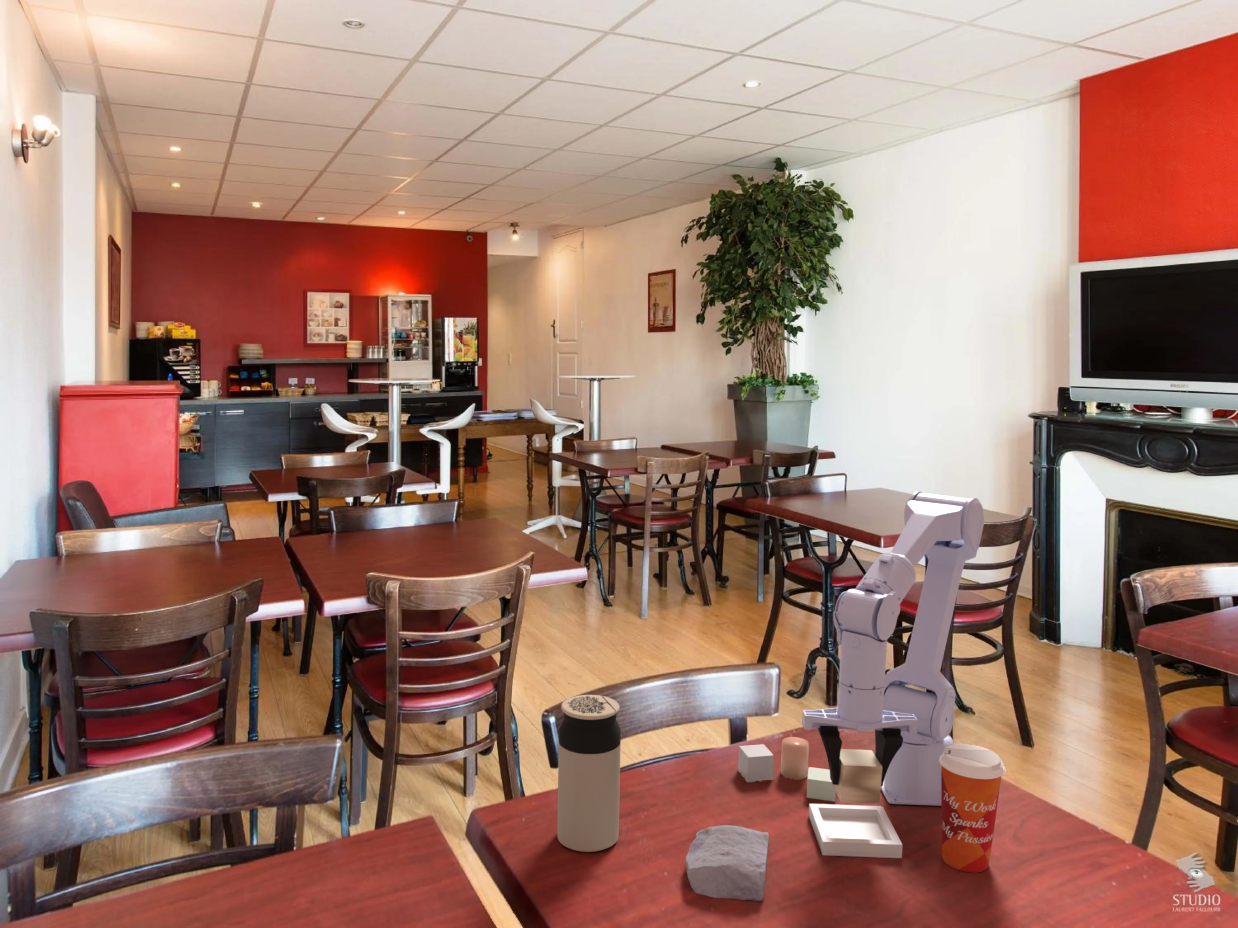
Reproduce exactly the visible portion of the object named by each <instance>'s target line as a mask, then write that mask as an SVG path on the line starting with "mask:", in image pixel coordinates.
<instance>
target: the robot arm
mask: <svg viewBox="0 0 1238 928" xmlns="http://www.w3.org/2000/svg"><path fill="white" fill-rule="evenodd" d="M903 517H904V527H903V529H902V531H901V533H900V535H899V537H898V538H897V541H896V542H895V544H894V546H893V547H892V549H891V551H890V552H885V553H881V554H880V555H879V556H877V557H876V559H875V561H874V562H873V563H872V565H871V566H870V567H869V569H868V570H867V571H866V573H865V574H864V575H863V577H862V579H860V581H859V582H858V584H857V585H856V587H855V588H850V589H848V590H846V591H843V592H841V593H840V595H839V596H838V598H837V600H836V603H835V607H834V611H833V614H832V616H833V617H832V618H833V624H834V627H835V630H836V642H837V644H838V645H839V646H840V654H839V657H840V658H839V674H838V675H839V676H838V677H839V679H838V690H837V691H838V692H837V693H838V695H837V707H830V708H821V709H820V708H819V709H803V710H802V717H801V718H802V719H801V724H802V726H803V729H804V730H807V731H812V730H814V729H817V730H818V733H819V736H820V738H821V741H822V744H823V747H824V750H825V751H824V752H825V754H826V758H827V761H828V769H829V770H830V779H831V781H832V783H833V784H834V785H838V784H839V759H840V751H841V749H842V745H843V744H842V743H843V741H842V739H841V736H840V733H841V732H840V731H839V730H857V731H858V732H863V733H864V732H865V733H874V739H875V741H874V742H875V751H874V755H875V756H876V758H877V759H878V761H879V762H880V764H881V765H882V779H881V791H882V792H881V793H882V794H883V795H884V797H885V799H886V801H887V803H889V804H892V805H909V806H910V805H911V806H913V805H915V806H917V805H918V806H940V807H941V767H942V765H941V764H940V762H939V758H940V756H941V755H942V754H943V752H944V749H945V748H946V747H947V746H949V745H954V744H955V742H954V740H953V738H952V737H951V735H950V733H951V732H952V728H953V725H954V721H955V703H956V702H955V701H956V694H957V693H956V691H955V688H954V687H953V685H952V684H951V683H950V681H949V680H948V679H947V678H946V677H945V676H944V674H943V673H942V672H941V668H942V665H943V660H944V656H945V655H944V654H945V650H946V645H947V642H948V637H949V632H950V629H951V628H950V627H951V624H952V618H953V613H954V611H955V607H956V601H957V597H958V591H959V588H960V583H961V578H962V574H963V570H964V566H965V563H966V562H967V561H969V560H972V559H975V558H976V556H977V554H978V553H977V552H978V550H979V548H980V545H981V544H980V543H981V539H982V534H983V530H984V525H985V515H984V508H983V505H982V503H981V502H980V500H979V499H978V498H976V497H970V498H969V497H962V496H960V497H959V496H953V495H952V496H951V495H945V494H937V493H935V494H934V493H926V492H922V491H919V490H917V491H914V492H913V493H912V494H911V495H910V496H909V497H908V499H907V501H906V503H905V507H904V514H903ZM925 555H926V557H927V561H928V563H927V567H926V571H925V576H924V580H923V584H922V587H921V592H920V597H919V601H918V606H917V610H916V614H915V620H914V623H913V628H912V631H911V637H910V640H909V646H908V650H907V654H906V658H905V661H904V663H903V664H901V665H899V666H896V667H895V668H892V669H890V670H888V671H887V672H886V667H887V665H886V664H887V663H886V662H887V647H888V646H887V644H888V639H890V637H891V636H892V635H893V634H894V631H895V629H896V626H897V621H898V617H899V615H900V612H901V603H902V602H903V599H905V597H906V596H907V594H908V592H909V591H911V590H910V589H911V588H912V586H913V585H914V584H915V582H916V578H917V573H916V569H915V567H916V566H917V565H918V563H920V562H921V560H922V559H923V558H924V556H925ZM907 685H908V686H913V687H916V688H917V687H918V688H921V689H925V690H928V691H932V692H934V693H935V694H934V693H932V692H927V691H924V690H919V689H915V688H912V687H908V686H907Z"/></svg>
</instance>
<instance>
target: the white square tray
mask: <svg viewBox="0 0 1238 928" xmlns="http://www.w3.org/2000/svg"><path fill="white" fill-rule="evenodd" d="M808 806H809V807H808V817H809V821H810V824H811V826H812V829H813V833H814V834H815V838H816V841H817V844H818V847H819V850H820V852H821V855H822V856H832V857H833V856H836V857H837V856H840V857H858V858H860V857H861V858H863V857H865V858H886V859H887V858H890V859H903V858H902V857H903V843H902V841H901V839H900V837H899V835H898V834H897V831H896V830H895V828H894V826H893V824H892V822H891V820H890V818H889V815H887V812H886V810H885V808H884V807H883V805H882V806H881V805H858V804H857V805H855V804H830V803H828V804H827V803H809V804H808Z"/></svg>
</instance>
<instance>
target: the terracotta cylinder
mask: <svg viewBox="0 0 1238 928" xmlns="http://www.w3.org/2000/svg"><path fill="white" fill-rule="evenodd" d="M809 746H810V743H809V741H808V740H807V739H804V738H802V737H797V736H788V737H784V738H783V739H782V740H781V756H780V757H781V759H780V775H781V774H782V775H783V776H782V775H781V776H782V777H784V778H786V779H788V778H789V780H792V779H793V780H792V781H801V780H804V778H805V779H807V778H808V768H809V752H810V751H809V749H810V748H809Z"/></svg>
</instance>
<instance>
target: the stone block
mask: <svg viewBox="0 0 1238 928" xmlns="http://www.w3.org/2000/svg"><path fill="white" fill-rule="evenodd" d="M769 835H770V833H769V832H767V831H765V832H762V831H759V830H755V829H752V828H747V827H744V826H740V825H739V826H738V825H728V824H722V825H716V826H708V827H707V828H703V829H700V830H699V831H697V832H696V834H695V839H693V841H692V842H691V844H690V846H689V848H688V851H687V855H686V857H685V864H686V865H685V867H686V868H685V869H686V876H687V879H688V882H689V884H690V887H691V889H692V891H693V892H694V893H695V894H698V895H702V896H703V895H704V896H707V897H710V898H713V899H715V898H716V899H717V898H718V899H736V900H741V901H747V900H748V901H755V902H762V901H763V900H764V898H765V889H766V888H765V887H766V879H767V878H766V877H767V866H768V857H769V845H770V844H769V837H770V836H769Z"/></svg>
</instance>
